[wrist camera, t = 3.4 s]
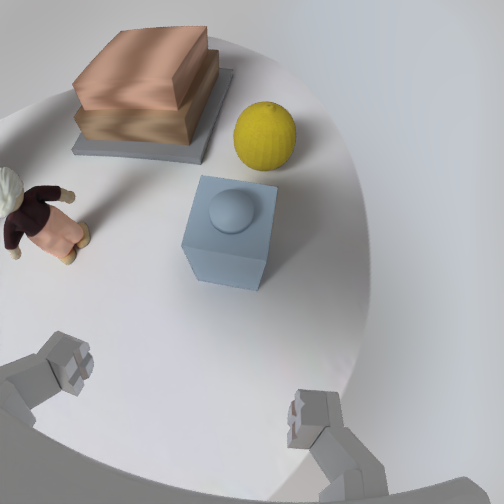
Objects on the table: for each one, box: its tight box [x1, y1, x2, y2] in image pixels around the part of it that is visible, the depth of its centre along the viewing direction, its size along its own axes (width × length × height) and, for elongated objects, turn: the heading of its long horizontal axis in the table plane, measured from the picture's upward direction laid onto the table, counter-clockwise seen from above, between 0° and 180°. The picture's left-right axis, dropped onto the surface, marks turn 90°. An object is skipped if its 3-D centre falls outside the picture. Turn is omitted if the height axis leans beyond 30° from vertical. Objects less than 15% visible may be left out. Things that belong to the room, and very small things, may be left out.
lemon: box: [234, 102, 296, 171], centre depth 25 cm, size 6×6×8 cm
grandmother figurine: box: [0, 167, 90, 265], centre depth 18 cm, size 8×4×13 cm, turn 149°
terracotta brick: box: [72, 26, 219, 146], centre depth 26 cm, size 13×13×8 cm
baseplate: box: [72, 68, 233, 165], centre depth 30 cm, size 16×16×1 cm
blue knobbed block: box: [181, 175, 278, 291], centre depth 21 cm, size 5×5×9 cm
